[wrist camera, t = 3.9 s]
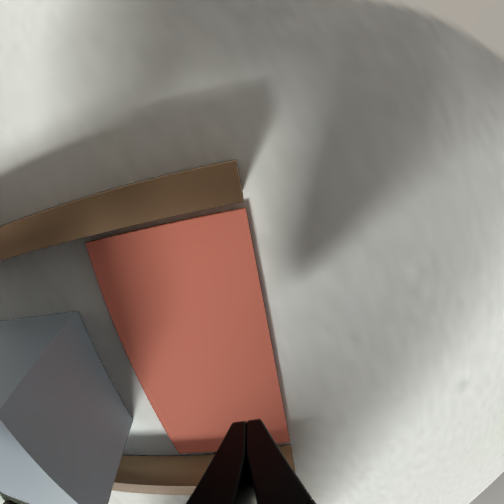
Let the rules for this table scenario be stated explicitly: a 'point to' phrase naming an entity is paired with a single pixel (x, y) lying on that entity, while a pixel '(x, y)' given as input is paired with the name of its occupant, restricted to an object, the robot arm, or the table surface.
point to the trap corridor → (177, 311)
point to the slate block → (57, 413)
